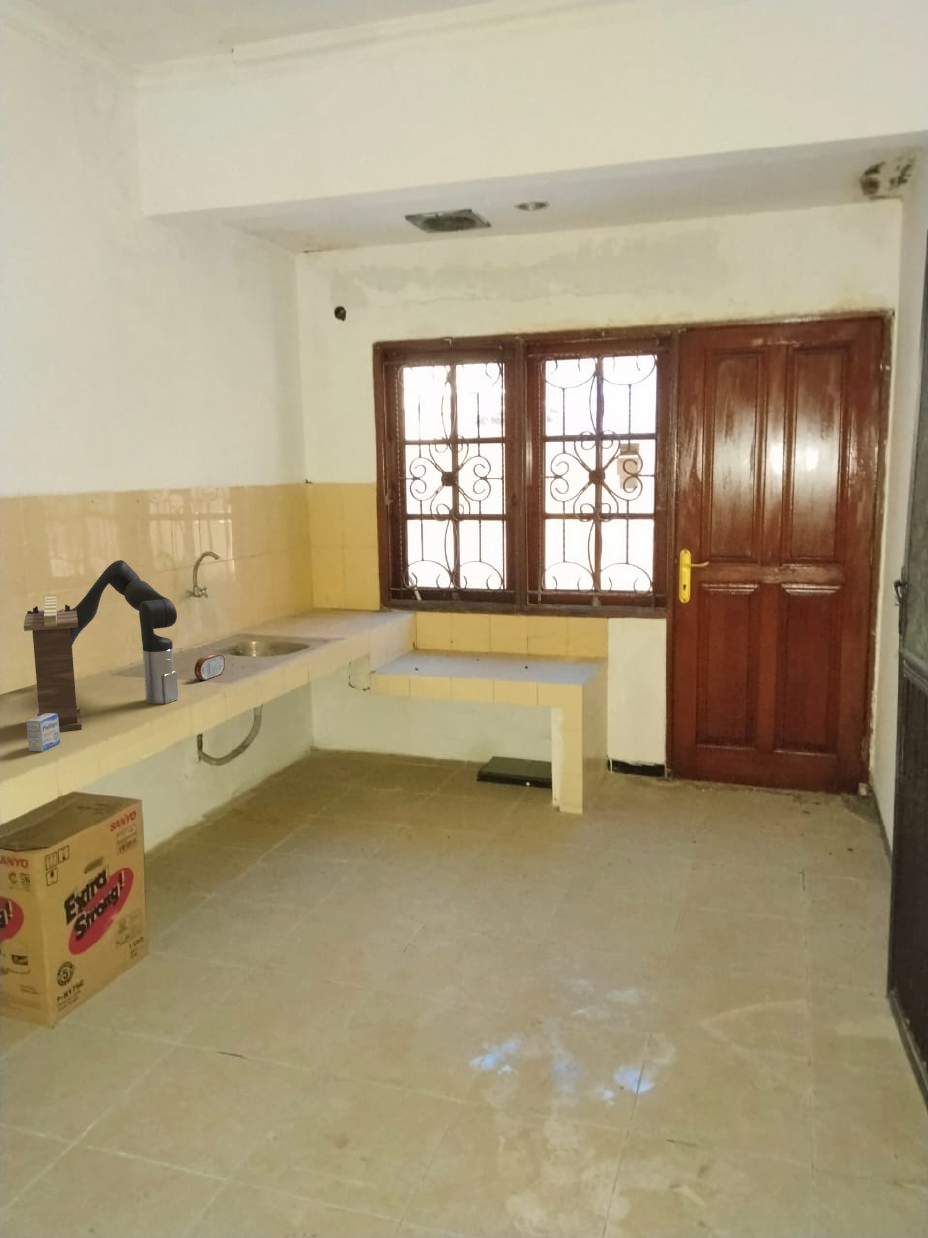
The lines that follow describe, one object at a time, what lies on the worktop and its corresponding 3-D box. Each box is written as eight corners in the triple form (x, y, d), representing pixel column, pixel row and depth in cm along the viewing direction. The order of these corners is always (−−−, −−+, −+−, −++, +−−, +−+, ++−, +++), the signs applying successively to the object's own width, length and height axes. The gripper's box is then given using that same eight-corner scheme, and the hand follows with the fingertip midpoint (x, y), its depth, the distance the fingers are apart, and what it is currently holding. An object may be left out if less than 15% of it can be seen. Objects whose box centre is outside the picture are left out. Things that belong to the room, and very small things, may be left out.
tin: (220, 672, 335) (219, 650, 333) (227, 673, 334) (226, 651, 332) (194, 682, 321) (192, 658, 320) (201, 683, 320) (200, 659, 319)
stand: (34, 717, 277) (25, 614, 272) (83, 712, 283) (76, 611, 277) (32, 735, 259) (23, 625, 254) (85, 729, 265) (77, 622, 259)
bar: (46, 605, 288) (45, 595, 288) (56, 604, 289) (55, 595, 289) (44, 626, 252) (43, 616, 252) (56, 626, 253) (55, 615, 253)
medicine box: (43, 752, 245) (40, 721, 244) (28, 751, 246) (25, 720, 244) (60, 743, 253) (58, 713, 251) (46, 742, 253) (43, 712, 252)
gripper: (29, 616, 296) (25, 598, 282) (76, 613, 301) (75, 595, 287) (30, 637, 294) (27, 621, 279) (78, 634, 299) (77, 617, 285)
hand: (51, 608), depth 283 cm, fingers open, 8 cm apart
